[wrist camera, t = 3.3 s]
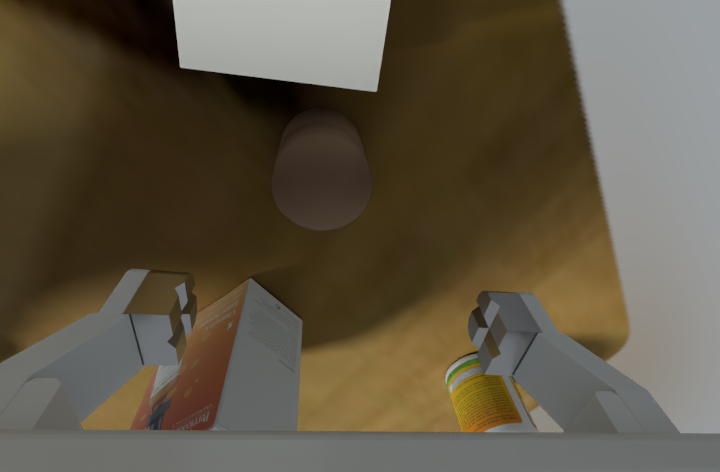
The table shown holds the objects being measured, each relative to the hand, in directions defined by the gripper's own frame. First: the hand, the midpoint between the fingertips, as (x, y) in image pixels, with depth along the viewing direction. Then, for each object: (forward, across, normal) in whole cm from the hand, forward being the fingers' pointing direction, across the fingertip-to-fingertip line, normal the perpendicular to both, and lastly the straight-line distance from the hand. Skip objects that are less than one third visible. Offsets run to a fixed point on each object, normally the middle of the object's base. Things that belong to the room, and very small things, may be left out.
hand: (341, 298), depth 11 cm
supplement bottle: (+12, +14, -19) cm, 27 cm away
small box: (+12, -6, -14) cm, 20 cm away
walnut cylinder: (+12, -1, 0) cm, 12 cm away
